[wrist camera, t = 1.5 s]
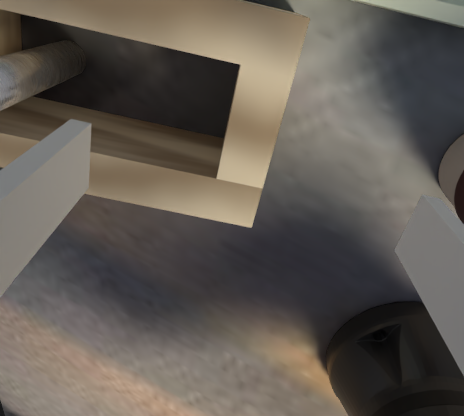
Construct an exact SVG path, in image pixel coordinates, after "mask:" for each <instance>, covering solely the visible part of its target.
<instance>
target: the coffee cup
mask: <svg viewBox="0 0 464 416" xmlns="http://www.w3.org/2000/svg"><path fill="white" fill-rule="evenodd" d="M439 183H440V186H441V189H442V191H443V193H444V194H445V196H446V197H447V198H448V200H449V201H450V202H451V203H452V205H453V206H454V207H455V209H456V212H457V215H458V217H459V218H460V220H461V221H462V223H463V224H464V134H463V135H462V136H461V137H459V138H458V139H457V140H456V141H455V142H454V143H453V144H452V145H451V146H450V147H449V148H448V150H447V151H446V153H445V155H444V157H443V159H442V161H441V164H440V168H439Z"/></svg>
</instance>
